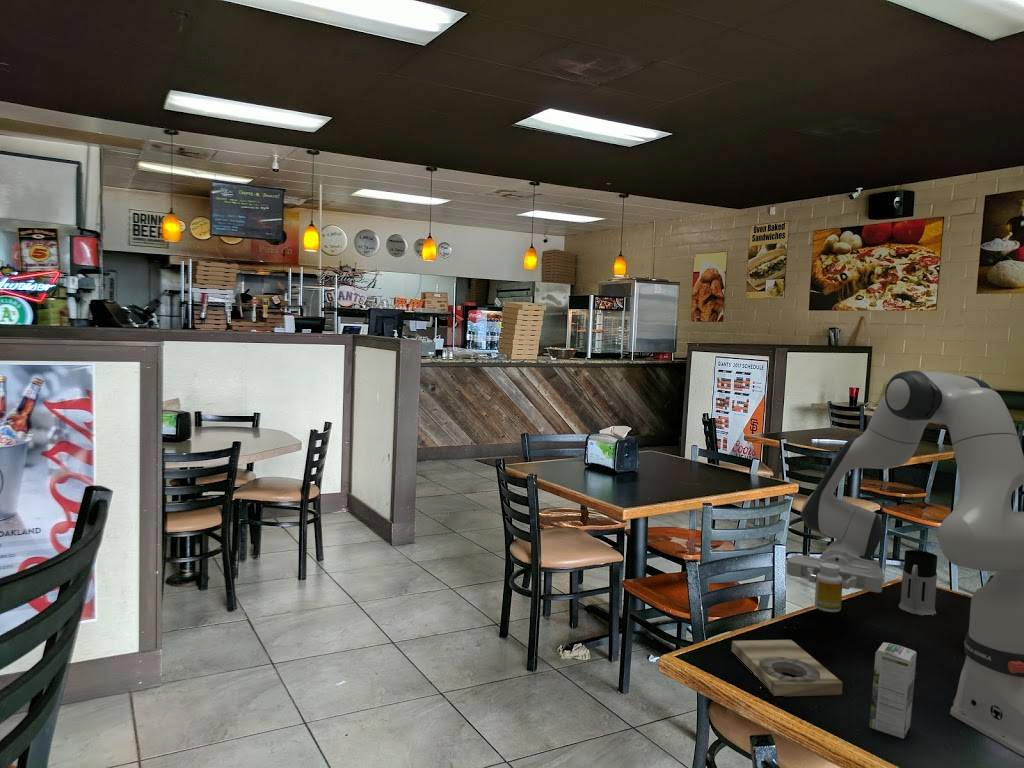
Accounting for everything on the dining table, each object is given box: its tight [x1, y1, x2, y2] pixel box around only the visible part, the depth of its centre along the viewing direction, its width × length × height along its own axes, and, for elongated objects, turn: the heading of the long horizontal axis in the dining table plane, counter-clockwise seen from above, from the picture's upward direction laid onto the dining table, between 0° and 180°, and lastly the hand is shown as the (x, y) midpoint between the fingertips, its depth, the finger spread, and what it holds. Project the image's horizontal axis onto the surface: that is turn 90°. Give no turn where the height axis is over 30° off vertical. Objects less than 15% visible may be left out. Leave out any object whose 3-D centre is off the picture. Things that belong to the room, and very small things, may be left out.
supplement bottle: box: [814, 563, 843, 613], centre depth 157 cm, size 5×5×10 cm
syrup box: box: [869, 642, 918, 740], centre depth 128 cm, size 6×6×14 cm
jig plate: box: [731, 639, 843, 697], centre depth 149 cm, size 20×14×2 cm
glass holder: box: [898, 549, 938, 616], centre depth 185 cm, size 9×14×15 cm, turn 141°
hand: (828, 582), depth 156 cm, fingers closed on supplement bottle, 5 cm apart
